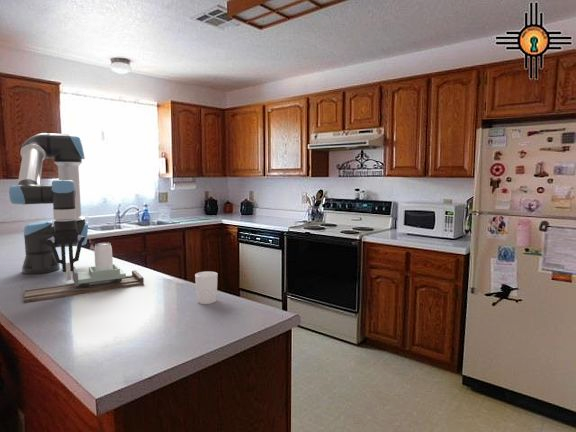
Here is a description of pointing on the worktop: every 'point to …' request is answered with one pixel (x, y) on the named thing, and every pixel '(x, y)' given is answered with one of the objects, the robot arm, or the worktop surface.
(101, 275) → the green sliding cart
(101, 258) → the can
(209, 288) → the white cup
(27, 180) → the robot arm
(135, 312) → the worktop surface
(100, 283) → the track
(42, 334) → the worktop surface
